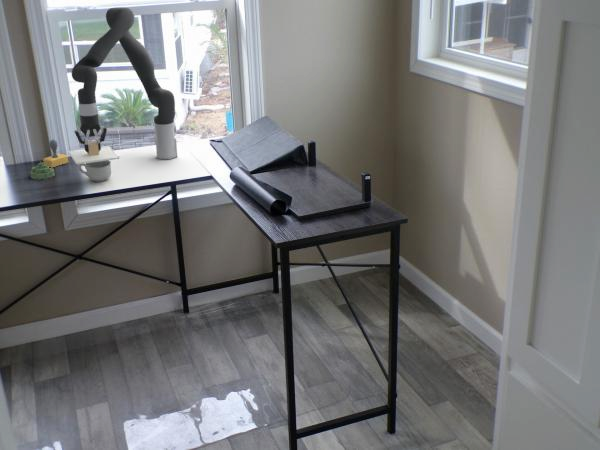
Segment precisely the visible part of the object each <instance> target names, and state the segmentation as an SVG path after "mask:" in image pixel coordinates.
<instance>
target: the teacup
mask: <svg viewBox="0 0 600 450" xmlns="http://www.w3.org/2000/svg"><path fill="white" fill-rule="evenodd" d="M111 164H112V163H111V160H107V161H100V162H92V163H85V164H78V166H77V167H78V171H79V172H80V173H82V174H84V175H85V176H87V178H88V179H90V180H91V181H92V182H96V183H97V182H98V183H100V182H105V181H107V180H108V179H109V178H110V177H111V175H112V165H111ZM82 166H83V167H84V169H85V170H83V169H82Z"/></svg>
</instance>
